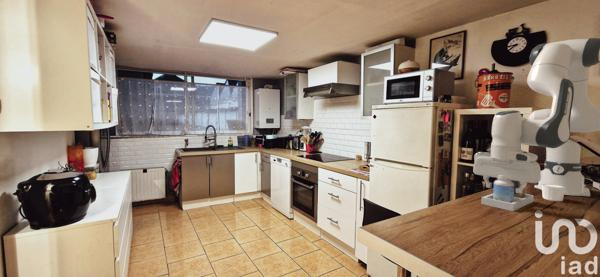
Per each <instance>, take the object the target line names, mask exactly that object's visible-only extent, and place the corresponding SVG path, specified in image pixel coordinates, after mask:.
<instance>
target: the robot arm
mask: <svg viewBox="0 0 600 277" xmlns="http://www.w3.org/2000/svg"><path fill="white" fill-rule="evenodd" d="M599 63H600V38H599V37H590V38H574V39H566V40H559V41H555V42H549V43H547V42H544V43H541V44H537V45H536V46H535V47H534V48H532V50H531V52H530V54H529V64H530V70H529V72H528V75H527V77H526V78H527V79H526V83H527V85H528V86H529V87H528V88H530V89H531V90H532V91H534V92H536V93H538V94H541V95H544V96H548V97H551V98H552V101H551V102H552V104H551V106H550V108H542V109H538V110H533V111H532V112H531V113H530V114H529V116H528V117H527V118H525V117H523V116H522V114H521V111H519V110H513V109H512V110H504V111H503V110H502V111H498V112H497V113H495V114H494V117H493V119H492V124H491V137H492V140H491V143H490V152H487V151H486V152H483V151H478V152H476V153H475V154H474V156H473V158H474V159H473V160H474V163H473V167H472V168H473V169H472V170H473V171H472V172H473V173H474V174H475V175H478V176H482V177H483V178H482V179H483V180H484V182H485V187H486V188H488V189H492V188H493V182H490V180H489V179H490V177H491V178H496V179H497V177H498V176H499V175H502V176H506V179H509V180H516V181H520V184H522V185H521V186H520V187H519V188H516V193H520V194H521V193H522V191H523V188H524V187H525V188H526V186H527V185H528V183H531V184H534V187H533V188H536V189H537V190H541V191H542V184H553V185H559V186H563V187H565V192H564V196H565V195H566V196H576V197H577V196H579V197H582V196H583V197H591V192H590V189H589V188H587V184H585V176H584V175H583V174H582V173H581V171H582V163H581V152H582V148H581V145H580V144H579V143H577V142H575V141H573V140H571V139H570V136H571V133H592V132H599V131H600V108H599V107H598V106H596V104H593V103H592V101H591V100H590V98H589V96H588V90H589V89H588V85H589V76H590V68H591V67H592V66H596V65H597V64H599ZM522 145H525V146H534V147H535V146H536V147H541V148H545V151H546V152H545V155H546V156H545V158H546V159H545V160H544V164H543V165H544V166H543V168H544V169H542V170H541V166H540V164H539V163H538V162H537V161H538V158H539V157H538V155H537V154H535V153H532V152H529V151H527V150H526V151H525V150H523V149H522ZM537 183H538V184H537Z"/></svg>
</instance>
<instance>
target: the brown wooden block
mask: <svg viewBox="0 0 600 277" xmlns="http://www.w3.org/2000/svg"><path fill="white" fill-rule="evenodd" d="M511 181H512V182H513V183H514V197H517V198H524V197H525V194H526V186H525V187H524V188H523V191H522V193H521V194H520V193H516V188H519V187H520V186H521V185H522V184H520V181H516V180H511Z"/></svg>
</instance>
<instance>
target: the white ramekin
mask: <svg viewBox="0 0 600 277" xmlns="http://www.w3.org/2000/svg"><path fill="white" fill-rule="evenodd" d="M564 192H565V187H563V186H559V185H553V184H542V190H541V193H542V199H544V200H547V201H551V202H563V201H564V196H565V195H564Z"/></svg>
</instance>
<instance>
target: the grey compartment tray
mask: <svg viewBox="0 0 600 277" xmlns="http://www.w3.org/2000/svg"><path fill="white" fill-rule="evenodd" d="M534 196H535V195H533V194H528V193H525V197H524V198H517V197H514V202H512V203H509V202H504V201H499V200H495V199H493V193H491V194H487V195H483V196H481V199H480V200H481V201H480V204H481V205H485V206H489V207H494V208H496V209H497V208H498V209H501V210H506V211H510V212H515V211H517V210H519V209H521V208H523V207H525V206H528V205H530V204H532V203H533V202H534Z"/></svg>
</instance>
